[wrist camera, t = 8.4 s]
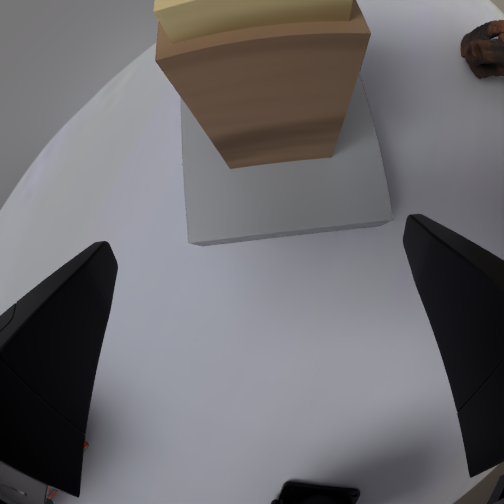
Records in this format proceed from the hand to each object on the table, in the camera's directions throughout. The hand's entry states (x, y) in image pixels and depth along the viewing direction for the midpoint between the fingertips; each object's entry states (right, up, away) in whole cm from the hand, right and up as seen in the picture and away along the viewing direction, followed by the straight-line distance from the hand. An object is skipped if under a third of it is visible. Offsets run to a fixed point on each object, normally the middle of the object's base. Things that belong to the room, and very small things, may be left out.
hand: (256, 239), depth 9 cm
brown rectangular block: (+1, +8, +9) cm, 12 cm away
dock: (+2, +8, +12) cm, 14 cm away
